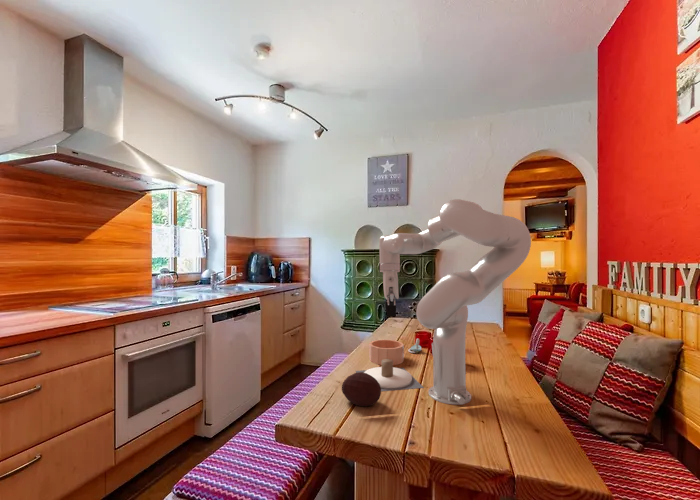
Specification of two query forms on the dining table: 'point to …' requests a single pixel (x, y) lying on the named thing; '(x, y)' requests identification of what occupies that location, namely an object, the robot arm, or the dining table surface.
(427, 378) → the dining table surface
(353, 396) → the potato
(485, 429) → the dining table surface
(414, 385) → the mat
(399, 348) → the bowl
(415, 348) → the pacifier
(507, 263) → the robot arm
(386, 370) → the lid
